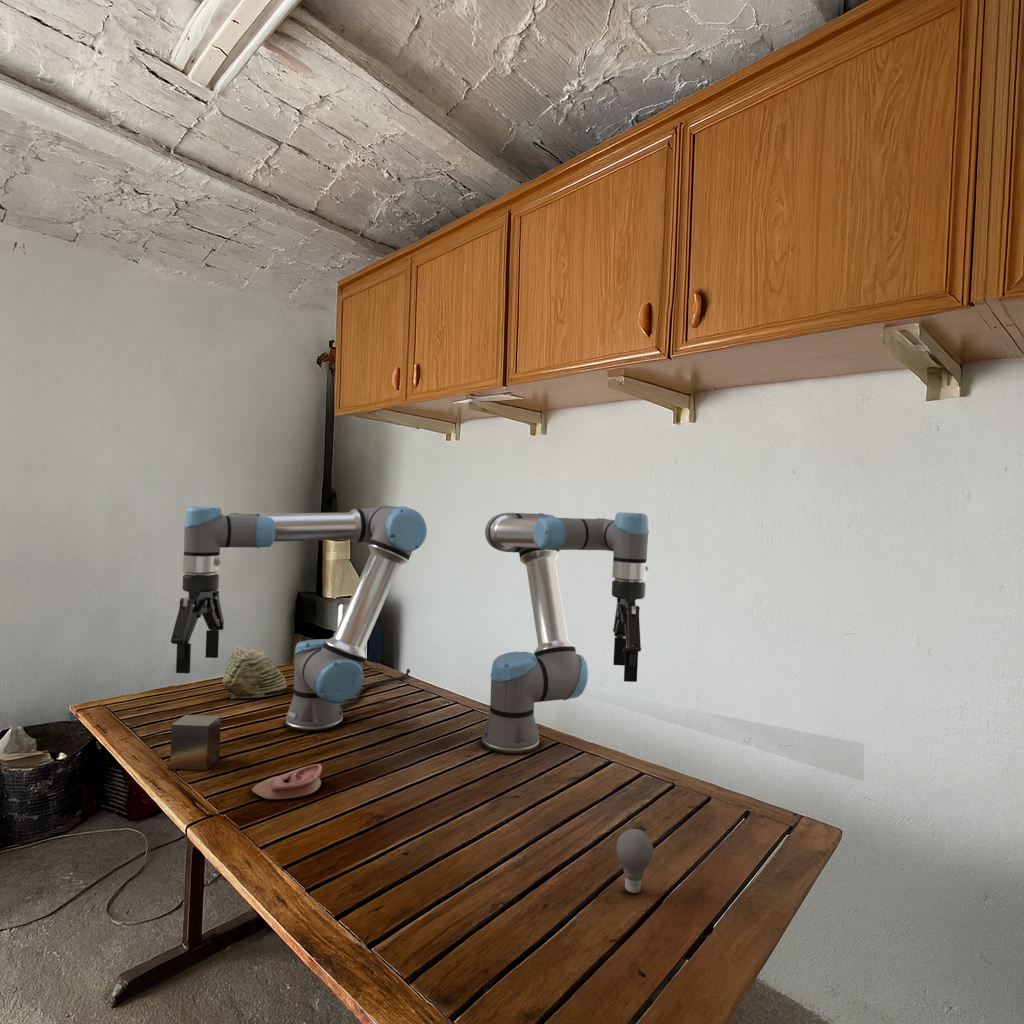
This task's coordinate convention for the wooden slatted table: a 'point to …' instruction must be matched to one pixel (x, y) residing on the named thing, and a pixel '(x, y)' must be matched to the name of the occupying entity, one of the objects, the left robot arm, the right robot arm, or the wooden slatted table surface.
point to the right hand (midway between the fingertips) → (624, 672)
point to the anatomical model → (291, 783)
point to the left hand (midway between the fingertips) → (198, 665)
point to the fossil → (252, 674)
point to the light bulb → (634, 857)
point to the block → (195, 742)
